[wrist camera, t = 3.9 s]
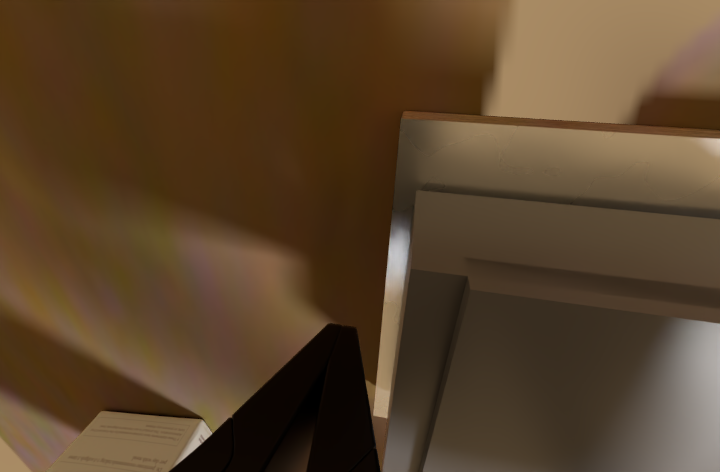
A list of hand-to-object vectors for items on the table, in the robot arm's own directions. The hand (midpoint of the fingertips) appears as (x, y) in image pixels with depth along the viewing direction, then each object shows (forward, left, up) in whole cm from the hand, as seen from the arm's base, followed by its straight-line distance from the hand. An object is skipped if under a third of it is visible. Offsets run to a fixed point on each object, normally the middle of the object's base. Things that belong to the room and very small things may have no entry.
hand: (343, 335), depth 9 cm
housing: (0, -5, -1) cm, 5 cm away
